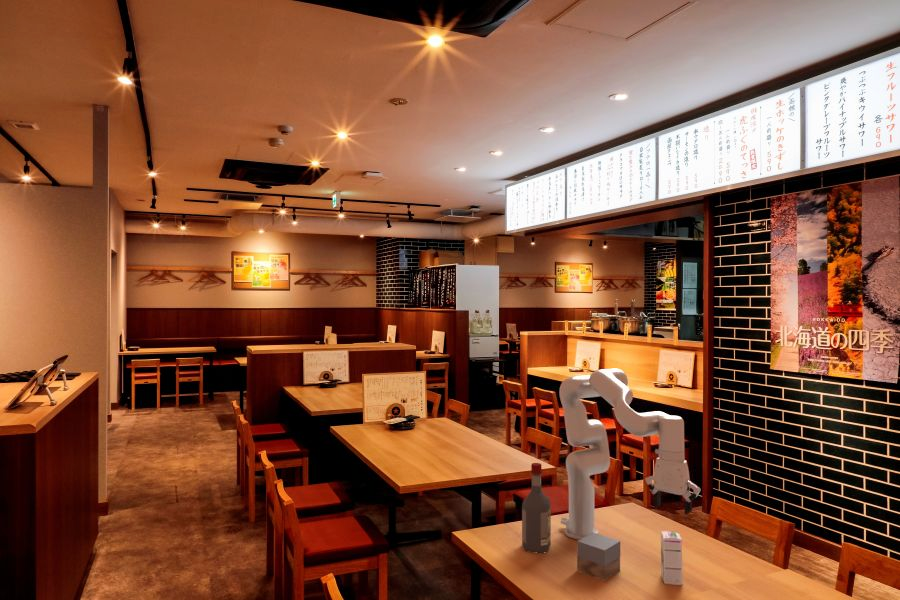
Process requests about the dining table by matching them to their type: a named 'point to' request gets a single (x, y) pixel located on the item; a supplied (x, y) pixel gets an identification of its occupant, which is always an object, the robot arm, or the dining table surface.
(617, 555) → the grey square block
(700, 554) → the dining table surface
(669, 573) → the syrup box
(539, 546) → the liquor
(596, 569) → the walnut block
